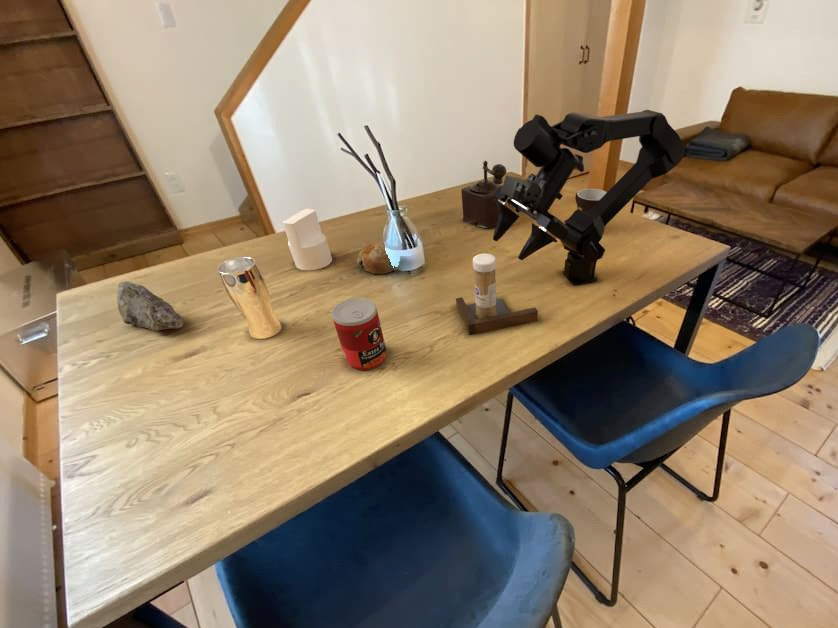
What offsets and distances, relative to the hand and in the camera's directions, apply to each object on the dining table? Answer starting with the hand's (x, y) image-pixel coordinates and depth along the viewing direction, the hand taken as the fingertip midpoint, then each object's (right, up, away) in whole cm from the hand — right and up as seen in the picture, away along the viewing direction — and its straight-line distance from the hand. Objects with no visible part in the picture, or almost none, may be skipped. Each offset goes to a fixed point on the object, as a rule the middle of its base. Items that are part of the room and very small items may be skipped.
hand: (506, 249), depth 89 cm
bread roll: (-32, +2, +21) cm, 38 cm away
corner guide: (-2, -13, +5) cm, 14 cm away
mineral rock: (-74, -16, +2) cm, 75 cm away
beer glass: (-50, -17, +1) cm, 53 cm away
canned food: (-27, -23, -6) cm, 36 cm away
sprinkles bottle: (-4, -13, +4) cm, 14 cm away
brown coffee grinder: (-4, +20, +41) cm, 45 cm away
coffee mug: (+24, +17, +37) cm, 48 cm away
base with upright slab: (-50, +3, +23) cm, 55 cm away
